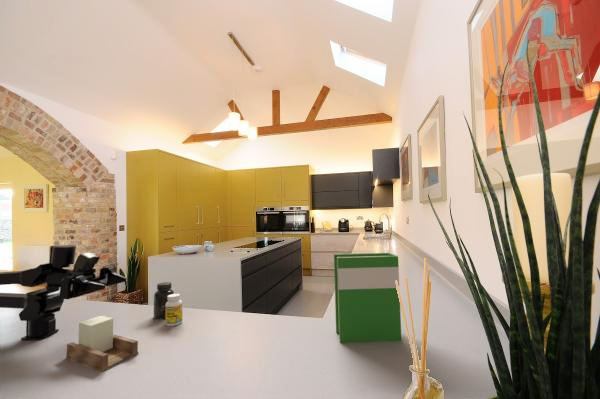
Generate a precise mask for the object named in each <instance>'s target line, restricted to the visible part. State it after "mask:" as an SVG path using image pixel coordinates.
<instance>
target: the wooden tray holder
mask: <svg viewBox="0 0 600 399" xmlns="http://www.w3.org/2000/svg"><path fill="white" fill-rule="evenodd" d="M138 346H139V340H135V339H132V338H128V337H125V336H121V335H117V334H114V333H113V348H111V349H109V350H106V351H104V352H100V351H97V350H94V349H91V348H88V347H85V346H82V345H79V344H78V343H75V342H69V343H67V344H66V355H65V359H66V360H68V361H71V362H74V363H77V364H79V365H81V366H85V367H87V368H90V369H92V370H95V371H98V372H101V373H103V372H104V371H107V370H109V369H111V368H113V367H115V366H118V365H119V364H121V363H123V362H125V361H128V360H129V358H130V359H131V357H132V358H133V357H136V356H137V355H139V350H138V349H139V348H138Z"/></svg>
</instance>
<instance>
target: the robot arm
mask: <svg viewBox="0 0 600 399" xmlns="http://www.w3.org/2000/svg"><path fill="white" fill-rule="evenodd" d="M76 249H77V245H76V244H67V245H66V244H65V245H62V244H61V245H58V244H57V245H50V251H49V252H50V253H49V262H46V263H42V264H39V265H38V266H36V267H34V268H28V269H24V270H18V271H17V270H16V271H15V270H13V271H1V272H0V286H1V285H2V286H5V285H20V286H22V287H29V288H35V287H38V286H42V285H45V284H46V285H45V287H44V288H40V289H36V290H33V291H29V292H26V293H18V292H17V293H15V292H14V293H12V292H0V308H1V309H3V308H4V309H22V310H20V312H19V314H18V317H19V320H20V321H21V322H22V321H24V322H26V327H25V328H26V330H25V335H24V336H23V337H21V338H20V340H21V341H22V340H23V341H25V340H27V341H28V340H31V341H32V340H42V339H45V338H46V337H49V336H51V335H53V334H55V333H57V332H60V329H59V328H57V327H56V326H57V324H56V322H57V321H56V320H57V319H56V314H55V313H57V312H60V311H61V309H62V306H63V303H64V302H65V300H70V299H74V298H75V299H76V298H79V297H82V296H85V295H89V294H92V293H95V292H98V291H102V290H105V289H106V287H110V286H114V285H118V284H121V283H125V282H127V278H126V277H125V276H123V275H121V274H119V273H117V272H116V271H117V266H116V265H107V266H103V267H102V268H100V269H99V275H97V276H96V272H97V271H96V270H97V268H95V265H96V264H98V262H99V261H100V259H101V258H100V255H99V254H98V253H96V252H95V253H94V252H90V251H89V252H84V253H81V254H79V255H78V256H77V258H76ZM75 259H76V261H75ZM71 265H73V269H71V268H70V266H71Z"/></svg>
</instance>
